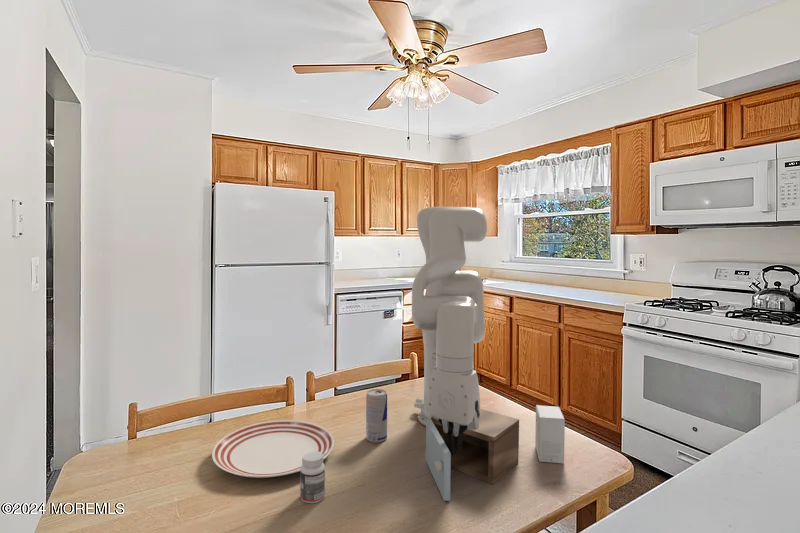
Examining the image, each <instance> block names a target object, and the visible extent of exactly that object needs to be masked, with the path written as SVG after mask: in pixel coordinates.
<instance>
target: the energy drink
mask: <svg viewBox="0 0 800 533" xmlns="http://www.w3.org/2000/svg"><path fill="white" fill-rule="evenodd" d="M365 405H366V406H365V411H366V412H365V413H366V414H365V415H366V416H365V417H366V418H365V422H366V423H365V425H366V426H365V434H366V435H365V437H366V440H367V441H369V442H370V443H373V444H375V443H376V444H377V443H383V442H385V441H386V440H387V439H388V394H387V390H384V389H379V388H375V389H374V388H373V389H369V390H368V391H367V392H366V396H365Z"/></svg>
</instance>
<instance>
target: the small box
mask: <svg viewBox="0 0 800 533" xmlns="http://www.w3.org/2000/svg"><path fill="white" fill-rule="evenodd" d="M565 420H566V419H565V417H564V415H563V412H562V411H561V408H560V407H559V406H549V405H539V404H536V406H535V435H534V436H535V441H534V442H535V450H536V454H537V458H538V462H541V463H553V464H562V465H563V464H565V436H566V435H565V430H566V429H565V425H566V424H565V422H566V421H565Z"/></svg>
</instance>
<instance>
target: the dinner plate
mask: <svg viewBox="0 0 800 533" xmlns="http://www.w3.org/2000/svg"><path fill="white" fill-rule="evenodd" d="M334 447H335V438H334V436H333V434H332V433H331V432H330V431H329V429H326V428H325V427H323V426H321V425H318V424H315V423H313V422H308V421H302V420H293V419H291V420H290V419H286V420H269V421H261V422H257V423H253V424H250V425H249V424H248V425H247V426H243V427H241V428H239V429H236V430H234V431H232V432H229V433H228V434H226V435H225V436H223V437H222V438H220V440H218V442H217V443H215V445H214V446H213V448H212V451H211V459H212V461H213V463H214V464H215V465H216V466H217V467H218V468H219V469H221V470H223V471H224V472H227V473H230V474H233V475H236V476H238V477H239V476H240V477H246V478H262V479H263V478H275V477H281V476H286V475H292V474H294V473H300V468H301V465H302V457H303V455H304V454H305V453H308V452H312V451H318V452H321V453H322V454H323V461H324V460H325V459H326V458H327V457H328V456H329V455H331V453H332V452H333V450H334Z"/></svg>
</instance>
